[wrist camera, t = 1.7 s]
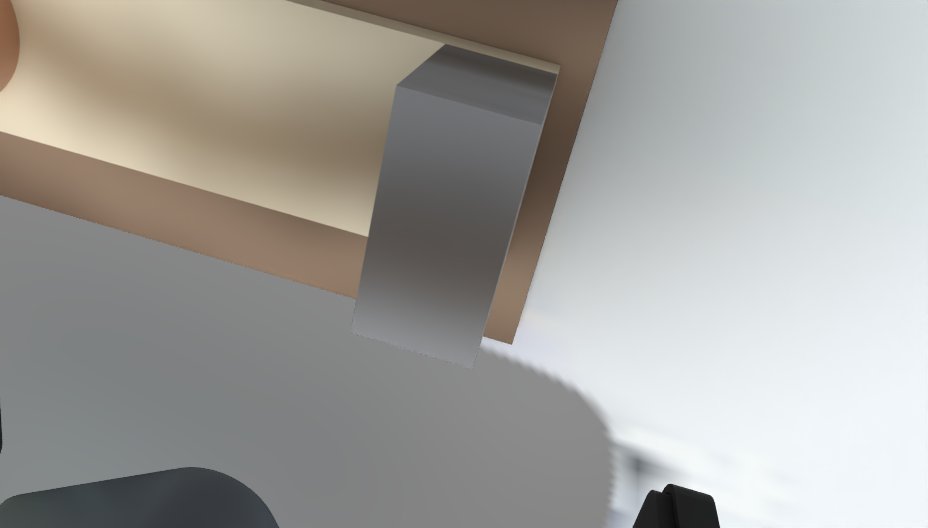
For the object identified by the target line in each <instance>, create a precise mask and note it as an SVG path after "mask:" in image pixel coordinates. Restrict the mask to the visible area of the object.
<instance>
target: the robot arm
mask: <svg viewBox="0 0 928 528" xmlns="http://www.w3.org/2000/svg"><path fill="white" fill-rule="evenodd" d="M1 449H2V428H1V410H0V453H1ZM633 528H720V526H719V521H718V516H717V511H716V506H715V502H714V499H713V497H711V496H710V495H708V494H704V493H701V492H697V491H694V490H691V489H687V488H684V487H680V486H677V485H673V484H668V485H667V486H666V487H665V488H664V490H663V492H662V493H661V492H658V491H655V490H651V491H650V492H649V493H648V495H647V497H646V499H645V501H644V503H643V505H642V508H641V510H640V512H639V514H638V517H637V519H636V521H635V523H634V525H633Z"/></svg>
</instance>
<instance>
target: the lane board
mask: <svg viewBox="0 0 928 528" xmlns="http://www.w3.org/2000/svg"><path fill="white" fill-rule="evenodd" d="M321 1H325V2H328V3H332V4H336V5H339V6H343V7H347V8H350V9H354V10H358V11H362V12H365V13H369V14H373V15H376V16H380V17H384V18H388V19H391V20H395V21H399V22H402V23H406V24H410V25H413V26H417V27H421V28H425V29H428V30H432V31H436V32H439V33H443V34H447V35H451V36H454V37H458V38H462V39H465V40H469V41H473V42H476V43H480V44H484V45H488V46H491V47H495V48H499V49H502V50H506V51H510V52H514V53H517V54H521V55H525V56H528V57H532V58H536V59H539V60H543V61H547V62H551V63H554V64H558V65H561V66H560V70H559V73H558V77H557V80H556V84H555V87H554V91H553V94H552V98H551V101H550V105H549V108H548V112H547V115H546V119H545V122H544V126H543V129H542V133H541V136H540V140H539V143H538V147H537V150H536V154H535V157H534V161H533V165H532V168H531V172H530V175H529V179H528V182H527V186H526V189H525V193H524V196H523V200H522V203H521V207H520V210H519V214H518V217H517V221H516V224H515V228H514V231H513V235H512V238H511V242H510V245H509V249H508V252H507V256H506V259H505V263H504V266H503V269H502V273H501V276H500V279H499V283H498V286H497V289H496V293H495V296H494V300H493V303H492V306H491V310H490V313H489V316H488V320H487V323H486V326H485V330H484V333H483V336H484V337H487V338H491V339H494V340H498V341H501V342H504V343H508V344H511V345H512V343H513V339H514V336H515V333H516V330H517V326H518V323H519V320H520V317H521V313H522V310H523V307H524V304H525V300H526V297H527V294H528V291H529V287H530V284H531V281H532V278H533V274H534V271H535V268H536V265H537V261H538V258H539V255H540V252H541V248H542V245H543V242H544V239H545V235H546V232H547V229H548V226H549V222H550V219H551V216H552V213H553V209H554V206H555V203H556V200H557V196H558V193H559V190H560V187H561V183H562V180H563V177H564V174H565V170H566V167H567V164H568V161H569V157H570V154H571V151H572V148H573V144H574V141H575V138H576V135H577V131H578V128H579V125H580V122H581V118H582V115H583V112H584V109H585V105H586V102H587V99H588V96H589V92H590V89H591V86H592V83H593V79H594V76H595V73H596V70H597V66H598V63H599V60H600V57H601V53H602V50H603V47H604V44H605V40H606V37H607V34H608V30H609V27H610V24H611V21H612V17H613V14H614V11H615V8H616V4H617V1H618V0H321ZM0 195H2V196H5V197H9V198H12V199H16V200H19V201H23V202H26V203H30V204H33V205H36V206H40V207H43V208H46V209H50V210H54V211H57V212H61V213H64V214H67V215H70V216H74V217H77V218H81V219H84V220H87V221H91V222H94V223H98V224H101V225H105V226H108V227H112V228H115V229H118V230H122V231H125V232H128V233H132V234H136V235H139V236H142V237H146V238H149V239H152V240H156V241H159V242H163V243H166V244H170V245H173V246H176V247H180V248H183V249H187V250H190V251H194V252H197V253H200V254H204V255H207V256H211V257H214V258H217V259H221V260H224V261H228V262H231V263H234V264H238V265H241V266H245V267H248V268H252V269H255V270H259V271H262V272H265V273H269V274H272V275H276V276H279V277H282V278H286V279H289V280H293V281H296V282H300V283H303V284H307V285H310V286H313V287H316V288H320V289H324V290H327V291H330V292H334V293H337V294H340V295H344V296H347V297H351V298H354V299H357V294H358V288H359V283H360V278H361V272H362V267H363V261H364V256H365V251H366V245H367V240H368V237H367V236H363V235H360V234H356V233H353V232H349V231H346V230H342V229H339V228H335V227H332V226H328V225H325V224H321V223H318V222H315V221H311V220H308V219H304V218H301V217H297V216H294V215H290V214H287V213H283V212H280V211H276V210H273V209H269V208H266V207H262V206H259V205H255V204H252V203H248V202H245V201H241V200H238V199H234V198H231V197H228V196H224V195H221V194H217V193H214V192H210V191H207V190H203V189H200V188H196V187H193V186H189V185H186V184H182V183H179V182H175V181H172V180H168V179H165V178H161V177H158V176H154V175H151V174H148V173H144V172H141V171H137V170H134V169H130V168H127V167H123V166H120V165H116V164H113V163H109V162H106V161H102V160H99V159H95V158H92V157H88V156H85V155H81V154H78V153H74V152H71V151H67V150H64V149H61V148H57V147H54V146H50V145H47V144H43V143H40V142H36V141H33V140H29V139H26V138H22V137H19V136H15V135H12V134H8V133H5V132H1V131H0Z"/></svg>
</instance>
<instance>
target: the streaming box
mask: <svg viewBox="0 0 928 528" xmlns="http://www.w3.org/2000/svg"><path fill="white" fill-rule="evenodd" d="M0 528H279V527H278V525H277V523H276V521H275V519H274V517H273V516H272V514H271V512H270V510H269V509H268V507H267V506H266V504H265V503H264V502H263V501H262V500H261V498H259V496H257V494H255V493H254V492H253V491H252V490H251V489H250V488H248V487H247V486H245V485H244V484H243V483H241V482H239V481H238V480H236V479H234V478H232V477H230V476H228V475H226V474H223V473H220V472H217V471H214V470H210V469H205V468H196V467H188V468H178V469H172V470H166V471H160V472H154V473H148V474H142V475H135V476H129V477H123V478H117V479H111V480H105V481H99V482H93V483H87V484H81V485H74V486H68V487H62V488H56V489H51V490H45V491H38V492H32V493H26V494H20V495H16V496H13V497H11V498H9V499H7V500H5V501H4V502H3V503H2V504H1V505H0Z"/></svg>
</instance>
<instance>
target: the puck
mask: <svg viewBox="0 0 928 528" xmlns="http://www.w3.org/2000/svg"><path fill="white" fill-rule="evenodd" d="M19 51H20V37H19V28H18V23H17V18H16V14H15V11H14V8H13V5H12V3H11V0H0V92H1V91H2V90H3V89H4V88H5V87H6V86H7V84H8V83H9V81H10V80H11V78H12V76H13V74H14V72H15V70H16V66H17V63H18V58H19Z"/></svg>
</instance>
